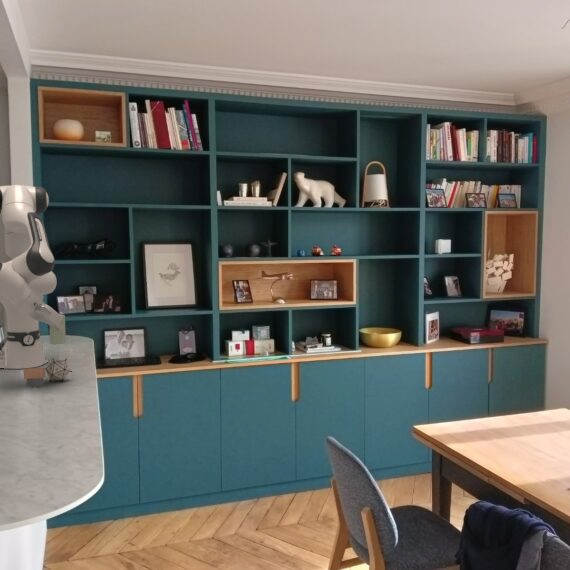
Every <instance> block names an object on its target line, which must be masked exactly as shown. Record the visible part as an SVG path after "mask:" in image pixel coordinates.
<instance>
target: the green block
mask: <svg viewBox="0 0 570 570" xmlns="http://www.w3.org/2000/svg"><path fill="white" fill-rule="evenodd" d="M58 314H59V313H58ZM59 315H61V316H62V318H63V319H62V321H61V322H60V323H61V324H62V325H63V326H64V329H63V330H58V329H57V328H56V327H55V326H54V325H51V324H50V325H49V344H51V345H53V346H55V345H64V344H67V341H66V340H67V339H66V315H64V314H59Z"/></svg>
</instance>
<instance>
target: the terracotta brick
mask: <svg viewBox="0 0 570 570" xmlns="http://www.w3.org/2000/svg"><path fill="white" fill-rule="evenodd" d="M45 368H46V367H32V368H24V369H23V378H24V379H25V380H27V379H37V378H43V379H44V378H45V377H46V369H45Z"/></svg>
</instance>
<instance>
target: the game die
mask: <svg viewBox="0 0 570 570" xmlns="http://www.w3.org/2000/svg"><path fill="white" fill-rule="evenodd" d="M67 360H68V358H65V359H64V360H63V359H59V360H58V359H55V358H52V361H51V362H50V364H48V365H47V367H44V368H45V372H46V373H47V375H48V378H49V381H50V382H51V381H61V382H62V383H64V379H65V378H66V377H67V375H68V374H69V373H72V372H73V370H70V368H69V366H68V363H67ZM49 381H48V382H49Z"/></svg>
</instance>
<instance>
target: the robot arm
mask: <svg viewBox="0 0 570 570" xmlns="http://www.w3.org/2000/svg"><path fill="white" fill-rule="evenodd" d="M49 202H50V199H49V195H48V193H47V190H46V189H45V188H44V187H42V186H39V185H38V186H37V185H35V186H31V185H22V184H12V185H1V186H0V214H1V220H2V224H3V226H4V249H5V254H6V255H7V256H8V258H11V260H9V261H6V262H0V303H1V305H2V306H3V307H4V310H5V313H6V317H7V318H6V319H7V332H6V341H5V343H4V345H3V347H2V348H1V350H0V357H1V358H0V368H4V369H3V370H5V369H12V370H13V369H15V370H16V369H17V370H19V369H22V370H23V369H27V368H38V367H40V366H42V365H44V364H48V363H49V359H45V349H44V347H45V346H44V343H43V342H42V341H41V340H40V338H41V337H40V335H41V333H40V329H39V322H41V323H45V324H46V325H48V326H50V324H51V325H54V326H55V327H56V328H57V329H58V330H63V329H64V326H63V325H62V324H61V323H60V322H61V321H62V319H63V318H62V316H61V315H62V314H61V315H59V313H58V312H57V311H56V310H55V309H54V308H53V307H51V306H50V305H48V304H46V303H45V302H44V296H45V295H49V294H52V293H53V292H54V291H55V289H56V287H57V281H58V280H57V277H56V274H55V273H54V272H53V270H54V267H55V262H56V260H55V256H54V253H53V251H52V249H51V248H50V243H49V239H48V235H47V231H46V228H45V224H44V221H43V219H42V218H41V216H39V215H41V214H44V213H45V211H46V210H47V209H48V206H49ZM47 362H48V363H47Z"/></svg>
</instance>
